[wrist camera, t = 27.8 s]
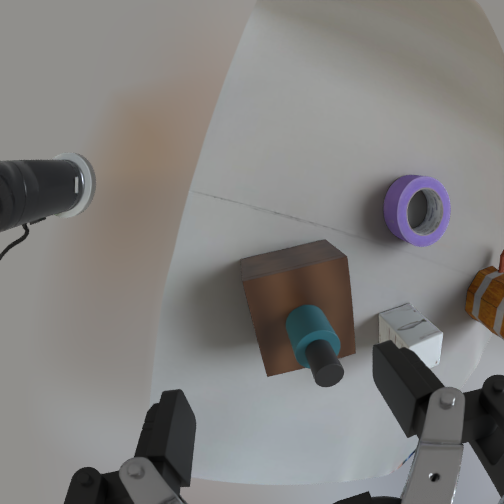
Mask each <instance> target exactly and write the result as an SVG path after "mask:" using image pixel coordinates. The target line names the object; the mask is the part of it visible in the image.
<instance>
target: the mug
mask: <svg viewBox="0 0 504 504" xmlns="http://www.w3.org/2000/svg"><path fill="white" fill-rule="evenodd" d="M465 311H466V312H467V313H468V314H469V315H470V316H471V317H472V318H473V319H475V320H477V321H479V322H480V323H482V324H483V325H484V326H486V327H487V328H488V329H489V330H490V331H491V332H492V333H494V334H496V335H497V336H499V337H501V338H502V339H503V340H504V250H503V252H502V254H501V255H500V264H499V270H497V269H496V268H495V267H493V266H490V267H488V268H485V269H483V270H480V271H479V272H478V273H477V275H476V277H475V279H474V280H473V282H472V283H471V285H470V287H469V288H468V290H467V299H466V307H465Z"/></svg>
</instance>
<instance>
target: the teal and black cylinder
mask: <svg viewBox="0 0 504 504" xmlns="http://www.w3.org/2000/svg"><path fill="white" fill-rule="evenodd" d="M286 330H287V333H288V336H289V339H290V342H291V345H292V348H293V352H294V355H295V358H296V360H297V362H298V363H299V364H300V365H301V366H303V367H305V368H309V369H311V371H312V374H313V377H314V379H315V382H316V383H317V385H319V386H321V387H330V386H333V385H335V384H337V383H338V382H339V381H340V380H341V379H342V378H343V375H344V369H343V367H342V365H341V363H340V361H339V360H338V358H337V355H338V353H339V351H340V340H339V338H338V336H337V334H336V333H335V331H334V329H333V328H332V326H331V324H330V323H329V321H328V320H327V318H326V316H325V315H324V313H323V311H322V310H321V309H320V308H318V307H317V306H314V305H302V306H299V307H297V308H296V309H294V310H293V311H292V312H291V313H290V314H289V316H288V317H287V320H286Z"/></svg>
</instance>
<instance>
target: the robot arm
mask: <svg viewBox="0 0 504 504" xmlns="http://www.w3.org/2000/svg"><path fill="white" fill-rule="evenodd" d="M84 190H85V179H84V174H83V172H82V170H81V168H80V167H79V165H78V164H76V163H75V162H74V161H71V160H13V161H0V232H2V231H5V230H8V229H11V228H13V227H16V226H19V225H22V226H23V228H24V230H25V233H24V235H23V236H22V237H20V238H19V239H17V240H16V241H14V242H12V243H11V244H9V245H8V246H7V247H6V248H5V249H4V250H3V252H2V253H1V254H0V260H1V259H2V257H3V256H4V255H5V254H6V253H7V252H8V251H9V250H10V249H11V248H12V247H14V246H16V245H17V244H19V243H21V242H22V241H24V240H25V239H26V238H27V236H28V235H29V228H28V227H27V223H28V222H30V225H31V224H34V223H37V222H40V221H42V220H45V219H46V217H47V216H50V215H53V214H57V213H60V212H66V211H69V210H72V209H73V208H75V207H76V206H77V205H78V204H79V202H80V201H81V199H82V197H83V194H84ZM373 378H374V382H375V384H376V386H377V388H378V390H379V391H380V393H381V394H382V396H383V398H384V399H385V401H386V403H387V404H388V406H389V408H390V409H391V411H392V413H393V414H394V416H395V418H396V419H397V421H398V423H399V424H400V426H401V428H402V429H403V431H404V433H405V435H406V436H407V438H409V437H411V436H413V435H417V436H418V438H419V441H418V445H417V448H416V452H415V456H414V459H413V462H412V466H411V469H410V472H409V475H408V478H407V481H406V483H405V486H404V489H403V491H402V494H401V497H400V498H396V497H388V496H380V497H371V496H370V493H369V491H368V492H365V493H362V494H359V495H356V496H353V497H350V498H346V499H343V500H340V501H337V502H335V503H333V504H452V502H453V499H454V495H455V491H456V486H457V482H458V477H459V472H460V466H461V461H462V455H463V444H462V443H466V442H469V443H470V445H471V446H472V448H473V450H474V451H475V453H476V455H477V456H478V458H479V460H480V461H481V463H482V465H483V466H484V468H485V470H486V471H487V473H488V475H489V476H490V478H491V480H492V482H493V484H494V485H495V487H496V489H497V491H498V492H499V495H500V496H501V499H500V501H499V503H498V504H504V376H503V375H493V376H491V377H489V378H487V379H486V380H485V382H484V384H483V387H482V388H481V389H478V390H474V391H470V392H465V393H462V392H461V391H460V390H458V389H456V388H453V387H445V386H444V385H443V384H442V383H441V381H440V380H439V379H438V378H437V377H436V376H435V375H434V373H433V372H432V371H431V370H430V369H429V368H428V367H427V366H426V364H425V363H424V362H423V361H422V360H421V359H420V358H419V357H418V355H417V354H416V353H415V352H414V351H412V350H410V349H408V348H406V347H402V348H400V349H399V348H398V347H397V346H396V345H395V344H394V343H393V341H392V340H387V341H385V342H382V343H379V344H376V345H374V346H373ZM142 429H143V430H142V431H141V434H140V438H139V441H138V445H137V448H136V452H135V456H134V458H131V459H129V460H127V461H126V462H124V463H123V465H122V466H121V468H120V470H119V471H115V472H111V473H105V474H100V473H99V472H98V471H97V470H96V469H95V468H92V467H84V468H82V469H79V470H78V471H77V472H76V473H75V474H74V475H73V477H72V479H71V483H70V486H69V489H68V492H67V495H66V498H65V502H64V504H187V502H186V501H185V500H184V499H183V498H182V496H181V495H180V487H190V479H191V470H192V460H193V451H194V441H195V432H196V419H195V415H194V413H193V411H192V409H191V407H190V405H189V403H188V401H187V399H186V397H185V395H184V393H183V391H182V390H181V389H177V390H169V391H163V392H162V395H161V399H160V402H159V403H155V404H153V406H152V407H151V408H150V409H149V410H148V412H147V415H146V418H145V423H144V425H143V428H142Z"/></svg>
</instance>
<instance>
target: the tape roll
mask: <svg viewBox="0 0 504 504" xmlns="http://www.w3.org/2000/svg"><path fill="white" fill-rule="evenodd" d="M419 190H421V191H422V192H423V193H424V195H425V197H426V200H427V214H426V217H425V219H424V221H423V222H422V223H421V224H420V225H419V226H418V227H416V228H413V229H412V228H411V227H410V224H409V222H408V217H407V210H408V205H409V202H410V200H411V198H412V197H413V195H414V194H415V193H416V192H418V191H419ZM450 213H451V206H450V200H449V196H448V193H447V191H446V189H445V188H444V186H443V185H442V184H441V183H440V182H439V181H438V180H436V179H434V178H432V177H428V176H418V175H406V176H403V177H400V178H399V179H397V180H396V181H395V182H394V183H393V184H392V185H391V186H390V188H389V190H388V192H387V194H386V196H385V200H384V218H385V222H386V224H387V226H388V228H389V230H390V231H391V232H392V233H393V234H394V235H395V236H396V237H398V238H400V239H402V240H404V241H406V242H408V243H410V244H412V245H415V246H419V247H424V246H429V245H431V244H433V243H435V242H436V241H437V240H439V239H440V238H441V236H442V235H443V234H444V232H445V230H446V228H447V226H448V223H449V219H450Z"/></svg>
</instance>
